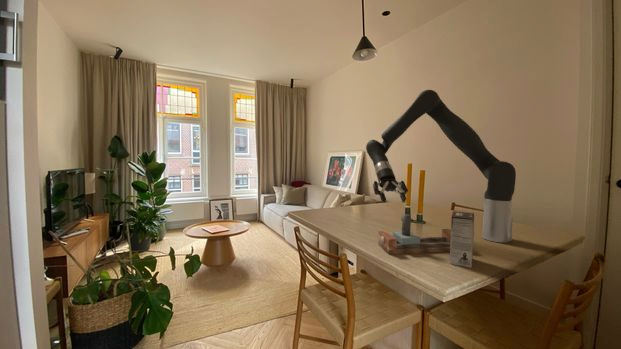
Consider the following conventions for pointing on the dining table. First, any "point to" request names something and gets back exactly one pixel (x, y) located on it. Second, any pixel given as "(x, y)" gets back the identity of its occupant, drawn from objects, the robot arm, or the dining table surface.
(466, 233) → the coffee box
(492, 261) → the dining table surface
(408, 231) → the grey post blue base
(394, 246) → the rail
